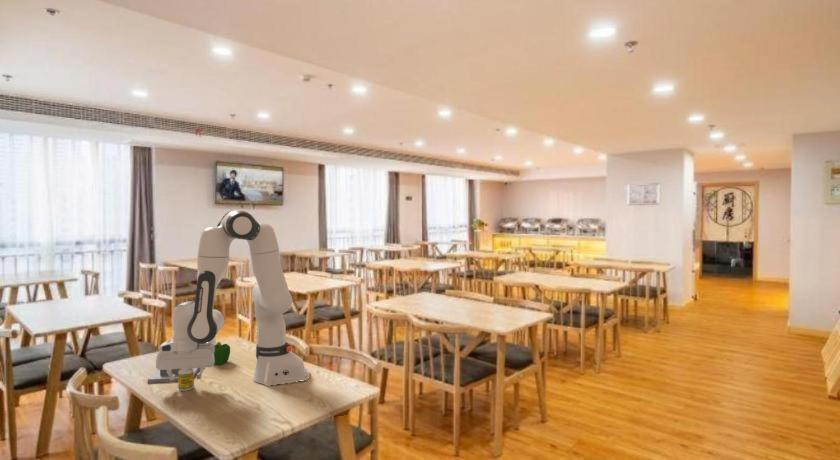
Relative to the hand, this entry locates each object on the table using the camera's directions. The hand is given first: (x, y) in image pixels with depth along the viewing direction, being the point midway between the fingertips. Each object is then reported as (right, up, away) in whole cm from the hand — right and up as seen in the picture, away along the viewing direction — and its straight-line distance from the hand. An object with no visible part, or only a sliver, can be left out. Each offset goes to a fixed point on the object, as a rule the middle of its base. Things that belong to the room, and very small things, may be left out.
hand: (186, 379), depth 180 cm
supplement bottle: (0, -4, 0) cm, 4 cm away
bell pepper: (+1, -2, +29) cm, 29 cm away
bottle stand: (-11, -3, +14) cm, 18 cm away
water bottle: (-9, -2, +37) cm, 38 cm away
